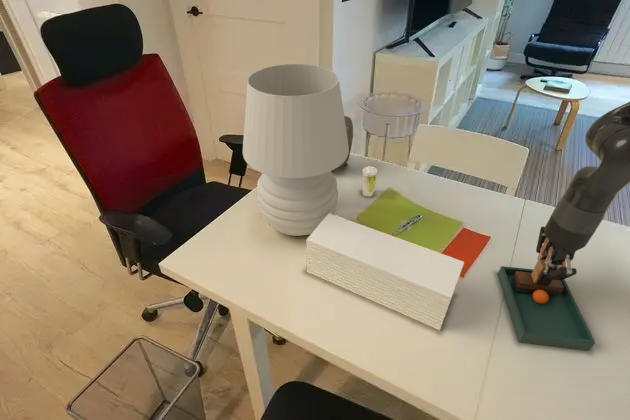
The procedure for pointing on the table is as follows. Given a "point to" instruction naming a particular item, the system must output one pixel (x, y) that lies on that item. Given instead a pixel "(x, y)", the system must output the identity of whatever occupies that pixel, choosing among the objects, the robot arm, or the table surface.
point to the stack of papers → (384, 268)
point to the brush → (535, 281)
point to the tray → (545, 316)
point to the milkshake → (369, 180)
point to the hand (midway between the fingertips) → (540, 278)
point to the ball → (540, 296)
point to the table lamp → (295, 143)
